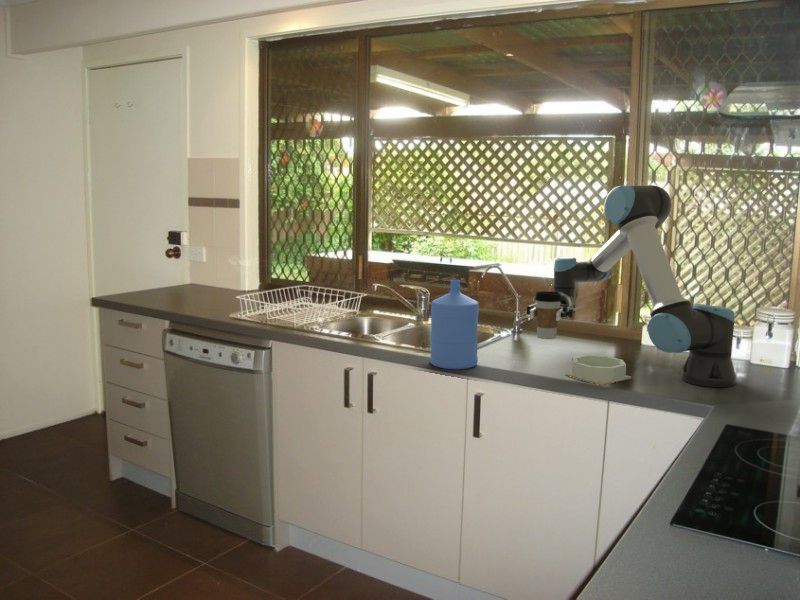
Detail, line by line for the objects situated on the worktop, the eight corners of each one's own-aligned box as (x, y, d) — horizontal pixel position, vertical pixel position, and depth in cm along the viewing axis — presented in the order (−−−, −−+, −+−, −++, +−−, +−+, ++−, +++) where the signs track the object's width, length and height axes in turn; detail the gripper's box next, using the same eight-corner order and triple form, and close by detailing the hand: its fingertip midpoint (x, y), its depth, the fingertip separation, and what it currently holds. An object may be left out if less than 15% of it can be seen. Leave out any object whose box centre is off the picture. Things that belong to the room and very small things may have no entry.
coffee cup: (528, 336, 222) (529, 290, 220) (548, 333, 226) (550, 289, 224) (544, 341, 215) (546, 294, 213) (565, 338, 219) (567, 292, 217)
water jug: (461, 372, 215) (463, 284, 210) (420, 364, 224) (421, 280, 220) (486, 363, 227) (488, 279, 222) (447, 355, 236) (448, 276, 232)
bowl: (634, 378, 209) (635, 362, 208) (602, 386, 200) (603, 370, 199) (593, 368, 221) (594, 353, 220) (562, 375, 212) (562, 359, 211)
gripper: (588, 317, 232) (576, 329, 212) (528, 313, 240) (512, 324, 220) (589, 295, 231) (577, 306, 210) (529, 292, 239) (512, 301, 218)
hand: (544, 315), depth 215 cm, fingers closed on coffee cup, 8 cm apart
